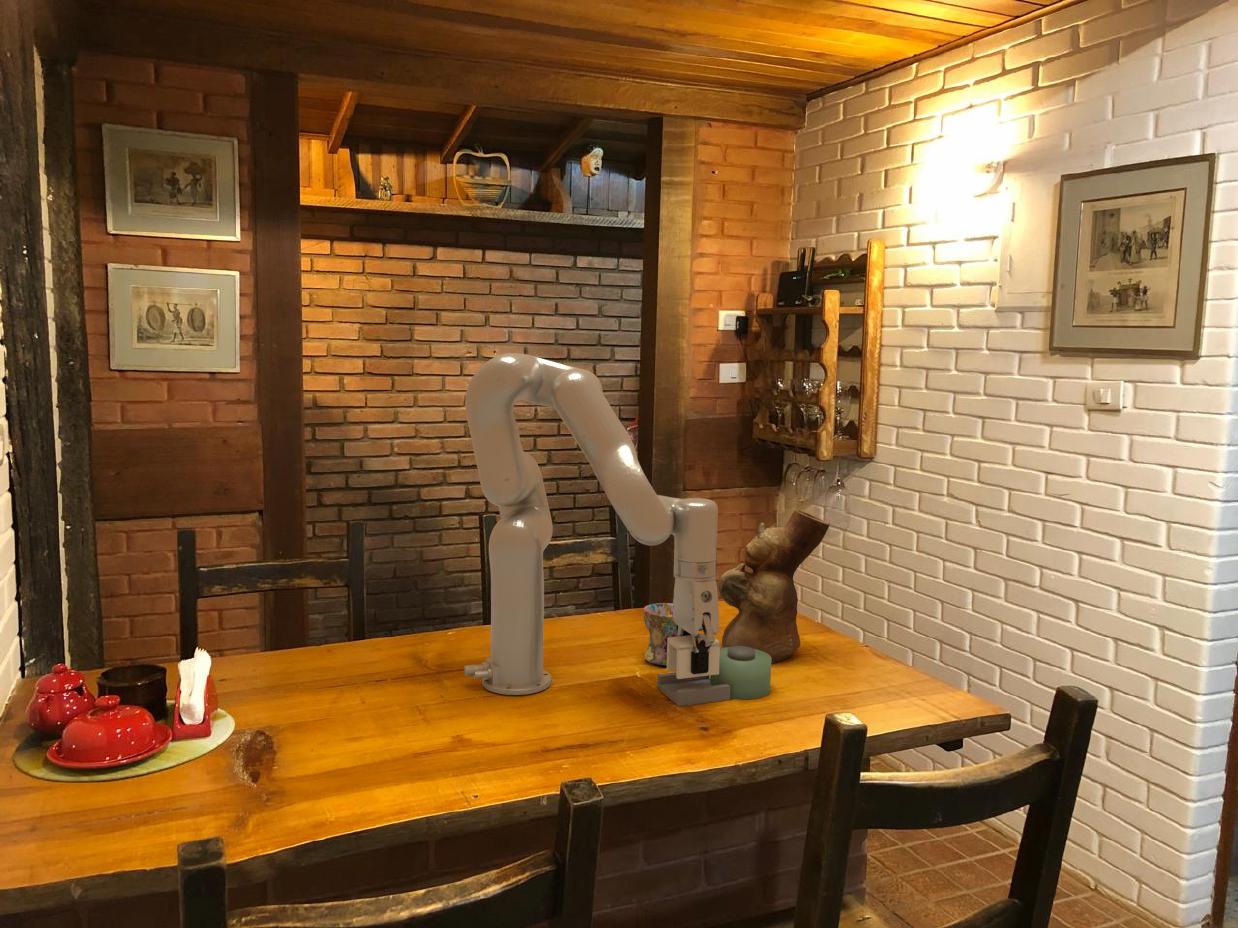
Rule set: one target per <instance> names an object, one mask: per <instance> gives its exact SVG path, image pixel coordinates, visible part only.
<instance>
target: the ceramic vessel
mask: <svg viewBox="0 0 1238 928" xmlns="http://www.w3.org/2000/svg"><path fill="white" fill-rule="evenodd" d="M829 527H830V523H829V522H827V521H825V520H823V519H821V518H819V517H817V516H815V515H812V514H811V513H808V512H806V511H803V510H801V509H794V510H793V511H792V513H791V515H790V517H789V519H788V521H787V522H786V523H785V524H784V526H781V527H767V526H766V524H765V523H764V522H761V523H760V524H759V526H758V529H757V535H755V537H754V538H753V539H752V540H751V541H750V542H748V543H747V545H745V548H744V550H745V554H744V563H740V564H739V565H738V566H736V567H734V568H732V569H729V570H726V571H725V572H723V574H721V576H720V578H719V579H718V592H719V595H720V597H721V599H722V600H723V601H724V603H726V604H728V605H729V606H731V607H734V608H736V609H737V610H738V613H737V614H736V616H734V617H733V618H732V620H730V621H729V623H728V624H727V625H726V627H725V629H723V630H724V631H723V634H722V637H721V648H726V647H732V646H746V647H750V648H753V649H757V650H760V651H763V652H765V653H767V654H769V655H770V656H771V658H772V661H771V664H774V663H778V662H781V661H783V660H786V659H788V658H789V657H791V656H793V655H794V653H795V652H796V651H798V650H799V648H800V647H801V638H800V634H799V631H798V625H797V615H798V601H799V599H798V593H797V588H796V586H795V582H794V576H795V573H796V571H797V569H798V568H799V566H801V565H802V563H804V561H805V560H807V558H808V557H809V556H810V555H811V554H812V553H813V552H814V550H816V548H818V546H819V545H820V544H821V543H822V541H823V539H824V538H825V536H826V535H827V532H828V529H829ZM746 567H747V568H750V569H751V570H752V572H749V571H747V570H746Z"/></svg>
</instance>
